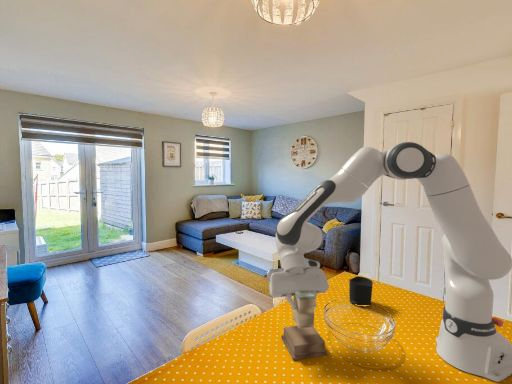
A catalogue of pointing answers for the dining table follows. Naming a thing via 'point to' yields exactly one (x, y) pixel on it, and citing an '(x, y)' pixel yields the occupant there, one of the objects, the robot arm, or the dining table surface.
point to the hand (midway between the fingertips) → (304, 308)
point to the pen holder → (360, 290)
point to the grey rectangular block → (304, 309)
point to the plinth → (303, 342)
